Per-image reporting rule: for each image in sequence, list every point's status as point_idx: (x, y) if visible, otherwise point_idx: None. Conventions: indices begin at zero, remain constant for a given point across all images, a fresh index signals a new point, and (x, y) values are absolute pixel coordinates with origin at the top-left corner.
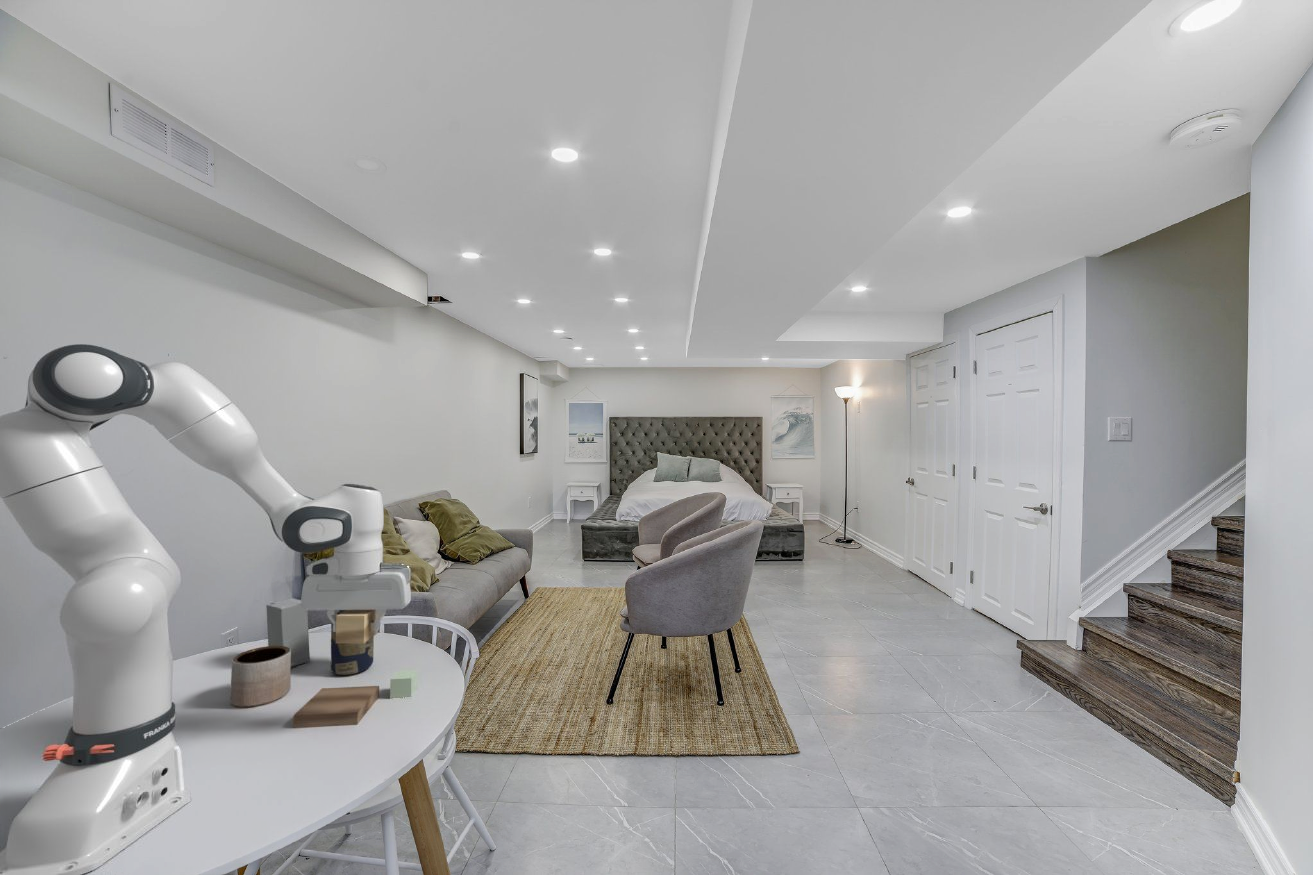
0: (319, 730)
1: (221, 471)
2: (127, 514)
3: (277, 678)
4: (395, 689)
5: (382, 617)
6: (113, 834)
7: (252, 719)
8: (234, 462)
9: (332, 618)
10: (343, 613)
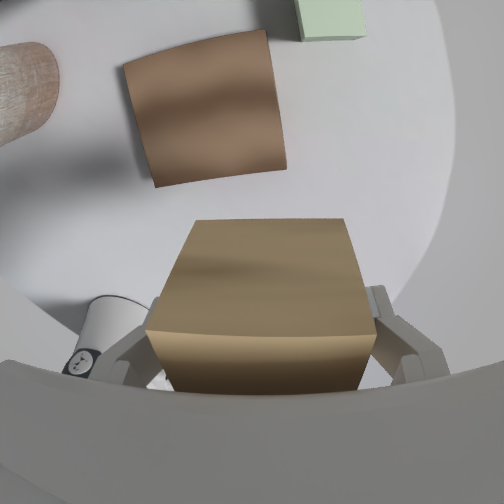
0: (220, 183)
1: None
2: None
3: (30, 101)
4: (317, 39)
5: (410, 329)
6: None
7: (75, 158)
8: None
9: (150, 377)
10: None
